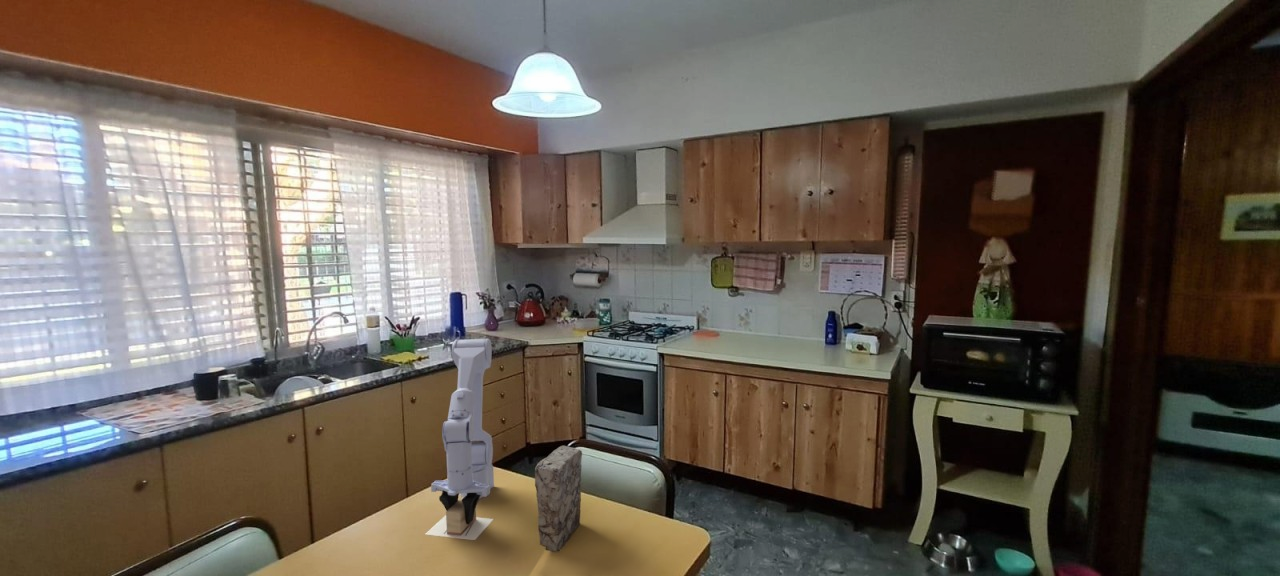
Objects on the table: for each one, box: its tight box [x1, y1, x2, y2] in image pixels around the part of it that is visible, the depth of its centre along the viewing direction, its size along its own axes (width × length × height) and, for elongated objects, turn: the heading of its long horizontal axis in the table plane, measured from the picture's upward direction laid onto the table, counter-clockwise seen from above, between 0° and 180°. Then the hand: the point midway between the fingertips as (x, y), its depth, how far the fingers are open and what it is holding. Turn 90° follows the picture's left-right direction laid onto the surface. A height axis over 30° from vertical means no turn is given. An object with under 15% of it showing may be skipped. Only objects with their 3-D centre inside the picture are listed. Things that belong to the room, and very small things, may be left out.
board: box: [424, 514, 494, 541], centre depth 117 cm, size 9×13×1 cm
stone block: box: [534, 445, 583, 553], centre depth 114 cm, size 13×7×20 cm, turn 167°
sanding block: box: [445, 497, 477, 536], centre depth 117 cm, size 7×4×6 cm, turn 169°
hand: (461, 521), depth 117 cm, fingers closed on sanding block, 3 cm apart
